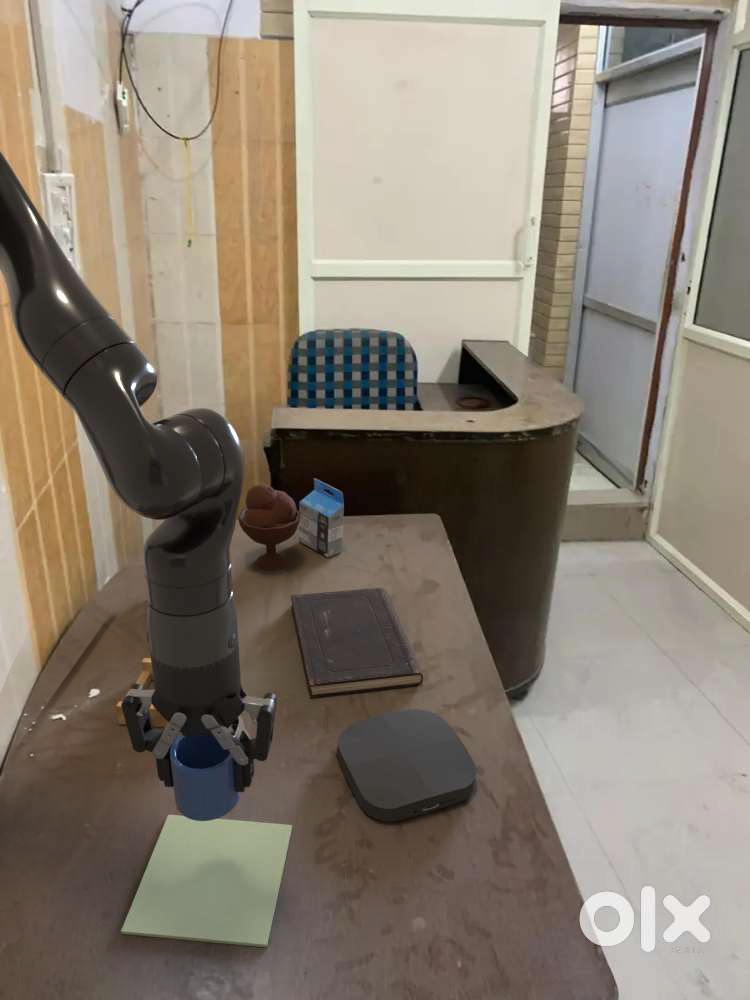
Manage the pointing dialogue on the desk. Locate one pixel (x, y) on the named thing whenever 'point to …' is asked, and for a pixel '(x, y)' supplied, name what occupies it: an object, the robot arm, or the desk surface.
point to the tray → (144, 682)
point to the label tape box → (322, 520)
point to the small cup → (203, 778)
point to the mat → (211, 882)
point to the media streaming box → (405, 764)
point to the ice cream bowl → (269, 522)
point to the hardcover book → (352, 643)
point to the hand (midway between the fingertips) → (206, 782)
